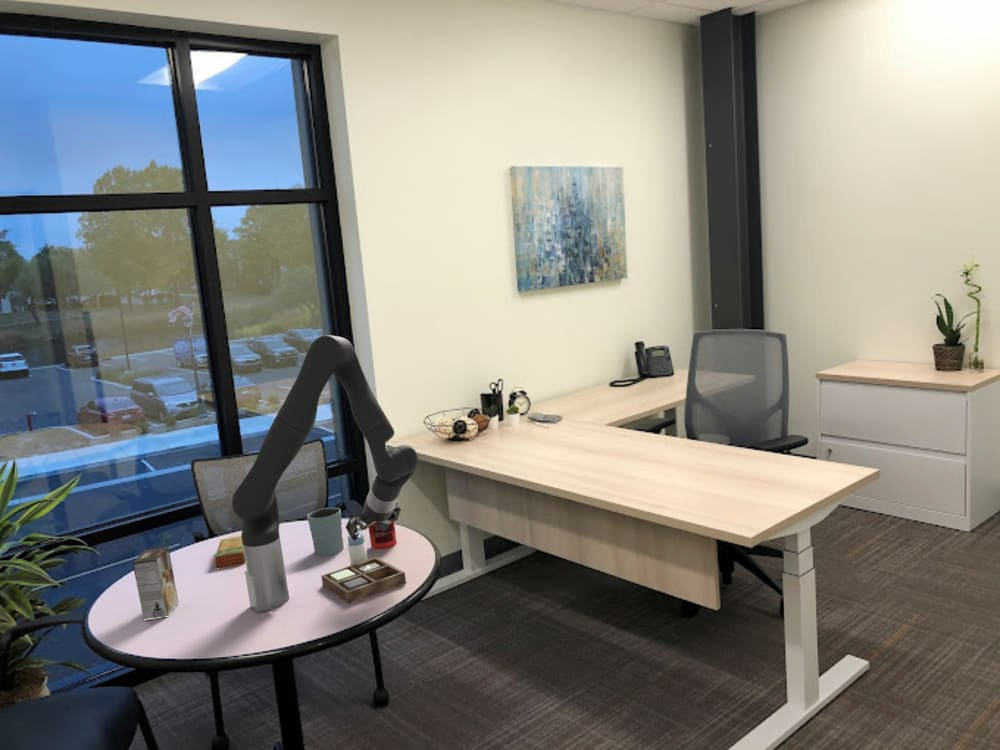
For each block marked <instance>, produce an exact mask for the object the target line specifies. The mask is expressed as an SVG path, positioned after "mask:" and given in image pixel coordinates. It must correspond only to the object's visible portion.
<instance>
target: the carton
mask: <svg viewBox="0 0 1000 750" xmlns="http://www.w3.org/2000/svg"><path fill="white" fill-rule="evenodd" d="M214 559H215V567H216V568H219V569H224V568H228V567H234V566H235V567H236V566H240V565H244V564H246V562H245V556H244V549H243V544H242V537H241V535H240V536H233V537H230V538H229V537H228V538H223V539H221V540H220V541H219V545H218V547H217V550H216V554H215V556H214ZM239 564H240V565H239ZM223 567H224V568H223Z"/></svg>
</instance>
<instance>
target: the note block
mask: <svg viewBox="0 0 1000 750" xmlns="http://www.w3.org/2000/svg"><path fill="white" fill-rule="evenodd" d="M354 576H356V574H355V573H353V572H351V571H350V570H348V569H346V570H343V571H340V572H337V573H334V574H331V575H330V577H331V580H333V581H334V582H339V581H342V580H345V579H348V578H351V577H354Z"/></svg>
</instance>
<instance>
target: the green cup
mask: <svg viewBox="0 0 1000 750" xmlns="http://www.w3.org/2000/svg"><path fill="white" fill-rule="evenodd" d="M341 510H342V509H341V508H338V507H324V508H323V507H322V508H318V509H315V510H313V511H311V512H309V513H308V514H307V515H306V518H307V522H308V525H309V530H310V532H311V533H310V534H311V538H312V543H313V544H312V545H313V550H314V553H315V555H317V556H321V557H325V556H324V555H328V556H331V554H333V555H336V554H338V552H339V553H341V552H342V551H343V550H344V537H343V527H342V526H343V525H342V524H343V523H342V511H341ZM341 550H342V551H341ZM335 553H336V554H335Z"/></svg>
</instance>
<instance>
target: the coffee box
mask: <svg viewBox="0 0 1000 750" xmlns="http://www.w3.org/2000/svg"><path fill="white" fill-rule="evenodd" d="M169 549H170V548H169V546H166V547H165V546H164V547H160V548H152V549H146V550H144V551H143V552H142V553H141V554H140V555H139V556H138V557H137V558H136V559H135V560H133V562H132V566H133V571H134V577H135V582H136V588H137V593H138V598H139V602H140V608H141V613H142V614H141V615H142V618H143V620H144V619H148V618H157V617H165V616H168V615H169V613H170V612H171V611H172V610H173V609H174V607H175V606H176V605H177V603H178V602H179V597H178V592H177V591H178V590H177V587H176V582H175V576H174V574H175V573H174V570H173V565H172V559H171V554H170V550H169ZM179 603H180V602H179ZM179 603H178V604H179ZM177 606H178V605H177ZM177 606H176V607H177ZM176 607H175V608H176ZM174 610H175V609H174ZM174 610H173V611H174ZM173 611H172V612H173ZM169 616H170V615H169Z"/></svg>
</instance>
